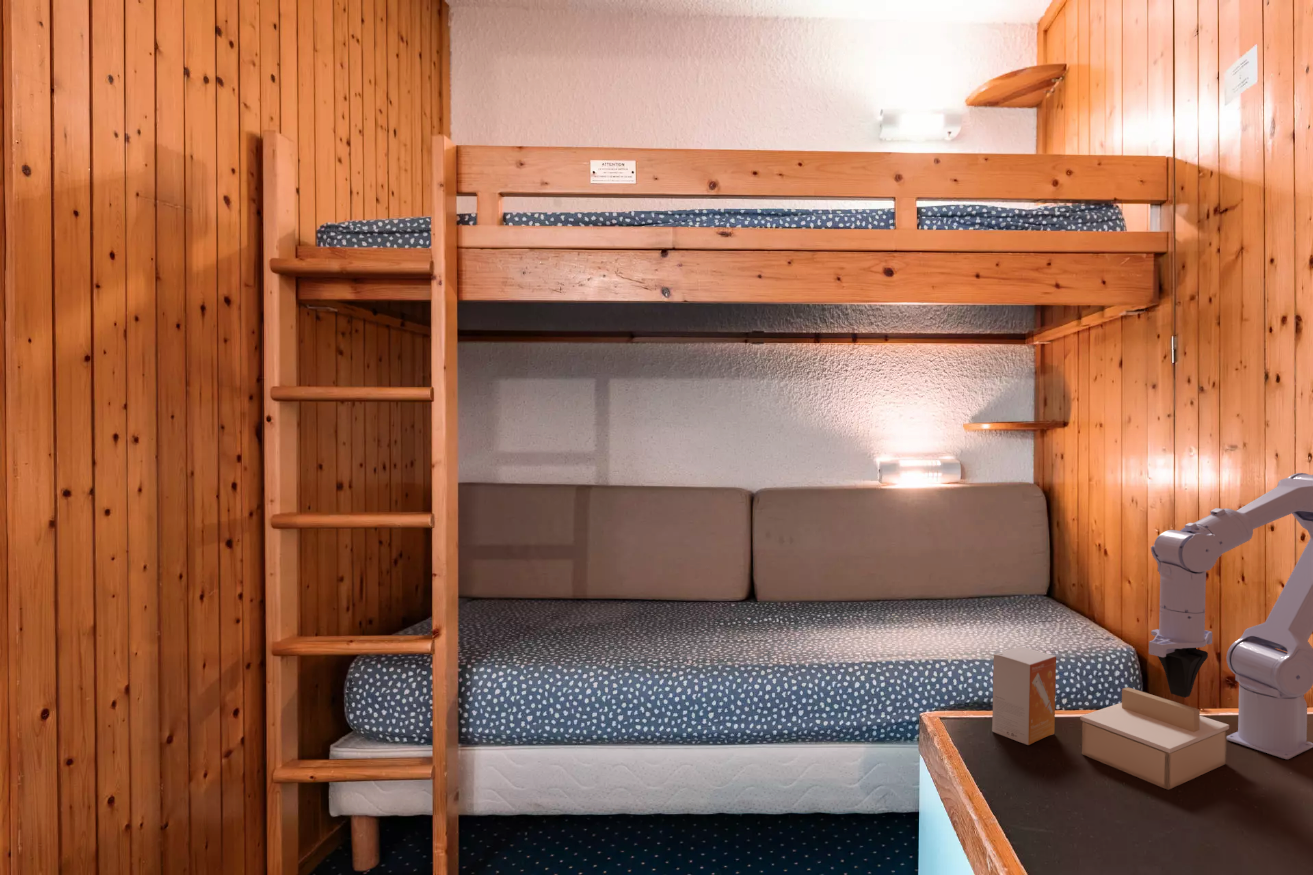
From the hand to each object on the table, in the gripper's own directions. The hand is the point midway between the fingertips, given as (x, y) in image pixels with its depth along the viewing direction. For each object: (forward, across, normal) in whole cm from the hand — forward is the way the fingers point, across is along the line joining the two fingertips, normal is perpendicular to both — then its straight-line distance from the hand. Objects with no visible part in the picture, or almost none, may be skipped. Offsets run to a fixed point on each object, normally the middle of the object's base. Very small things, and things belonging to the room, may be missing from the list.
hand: (1180, 694), depth 112 cm
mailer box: (+8, +7, 0) cm, 11 cm away
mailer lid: (+3, +7, 0) cm, 8 cm away
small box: (+9, +16, -15) cm, 24 cm away
